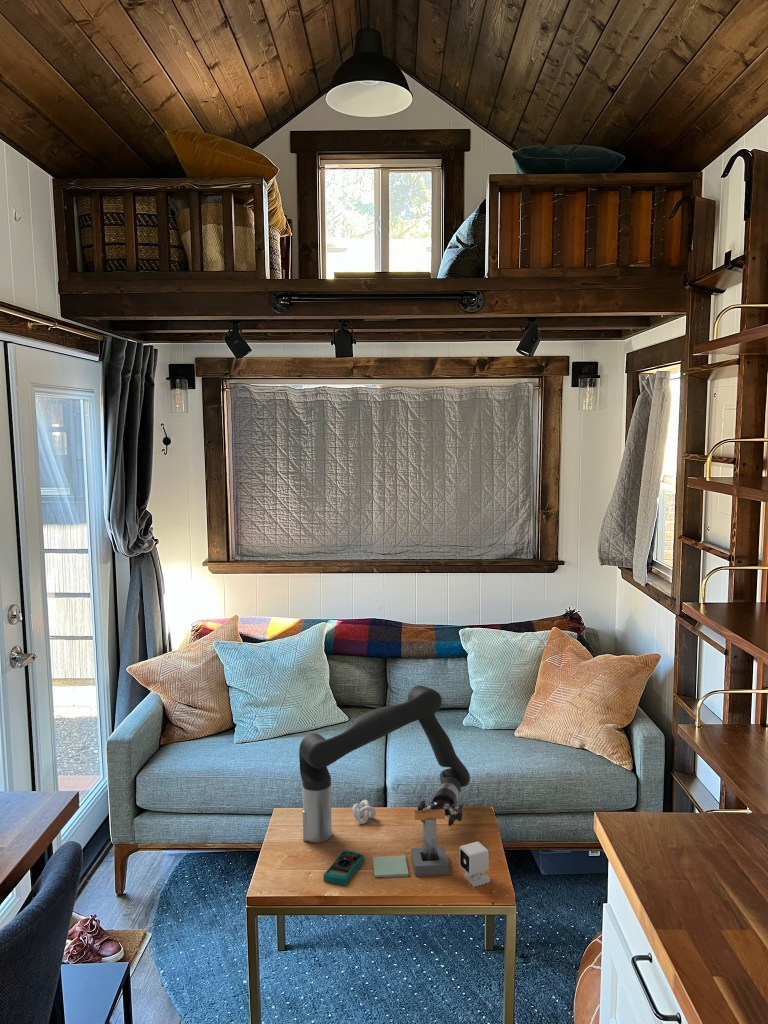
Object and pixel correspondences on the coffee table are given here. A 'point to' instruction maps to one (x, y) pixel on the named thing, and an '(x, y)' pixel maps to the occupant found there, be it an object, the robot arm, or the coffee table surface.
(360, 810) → the knot
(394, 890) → the coffee table surface
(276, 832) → the coffee table surface
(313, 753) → the robot arm
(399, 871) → the pad
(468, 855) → the security camera
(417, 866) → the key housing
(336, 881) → the digital multimeter
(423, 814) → the t key
